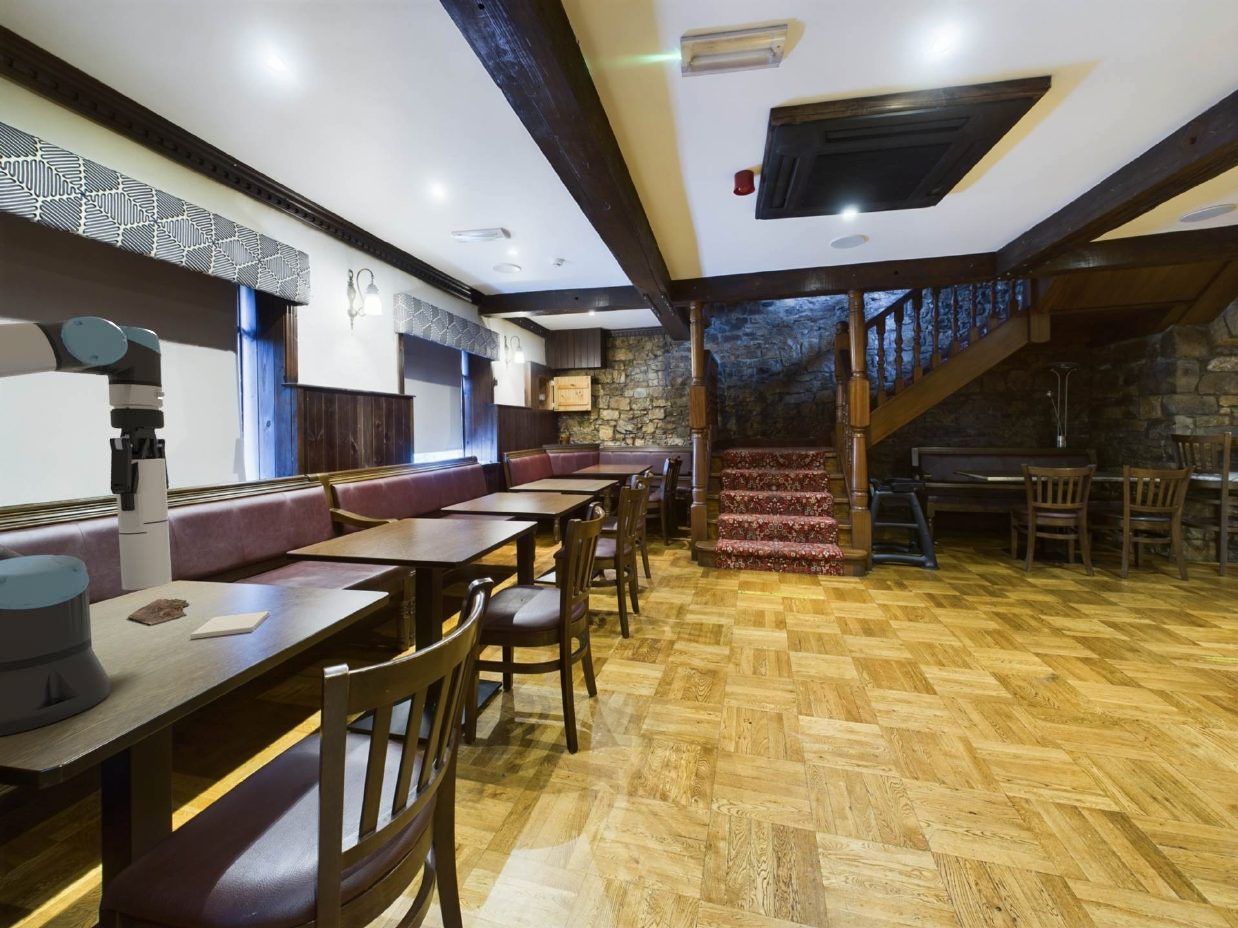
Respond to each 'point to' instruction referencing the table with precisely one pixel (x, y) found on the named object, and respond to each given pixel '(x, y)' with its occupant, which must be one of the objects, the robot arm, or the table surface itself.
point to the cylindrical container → (147, 532)
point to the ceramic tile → (230, 625)
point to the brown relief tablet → (160, 611)
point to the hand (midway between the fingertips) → (143, 524)
